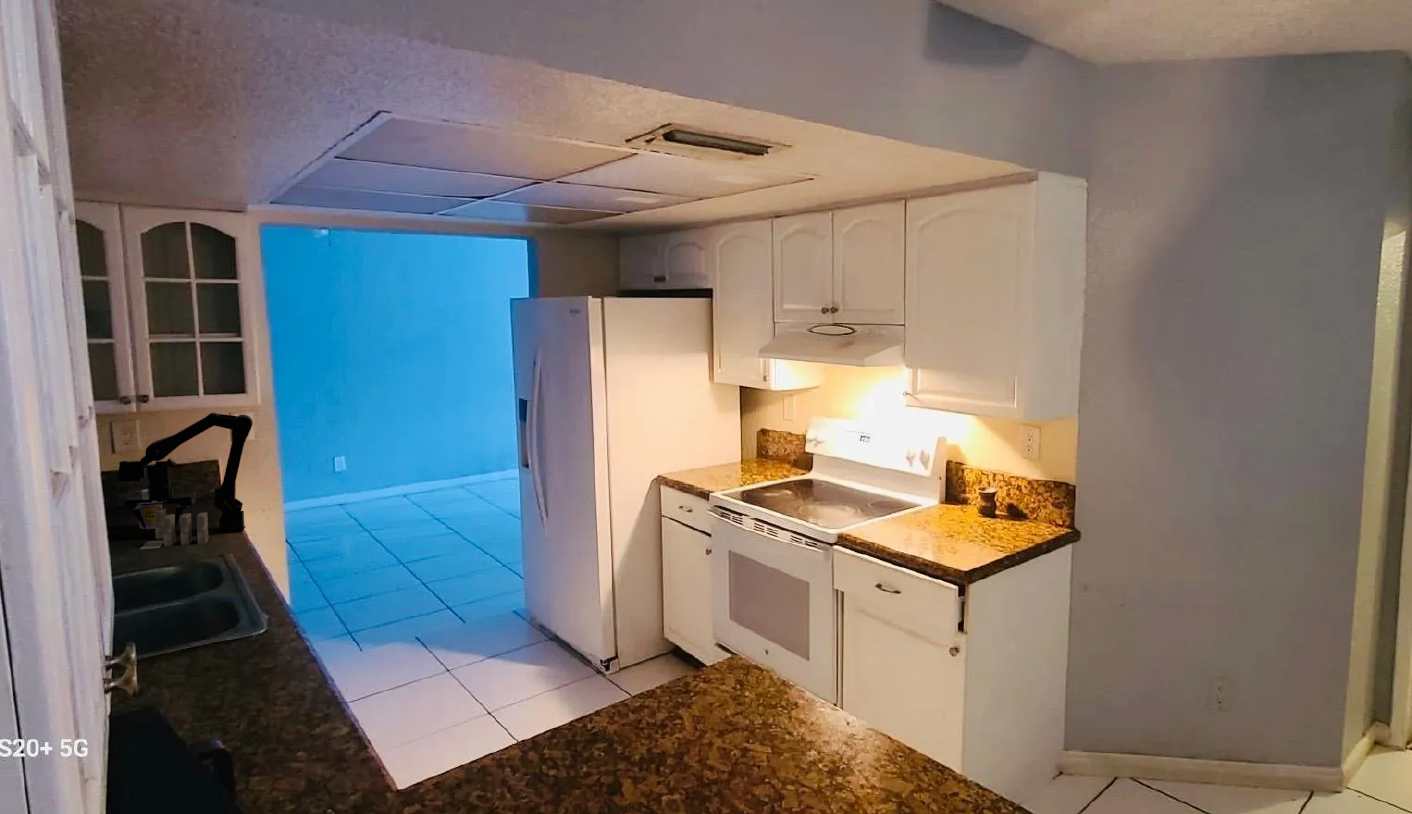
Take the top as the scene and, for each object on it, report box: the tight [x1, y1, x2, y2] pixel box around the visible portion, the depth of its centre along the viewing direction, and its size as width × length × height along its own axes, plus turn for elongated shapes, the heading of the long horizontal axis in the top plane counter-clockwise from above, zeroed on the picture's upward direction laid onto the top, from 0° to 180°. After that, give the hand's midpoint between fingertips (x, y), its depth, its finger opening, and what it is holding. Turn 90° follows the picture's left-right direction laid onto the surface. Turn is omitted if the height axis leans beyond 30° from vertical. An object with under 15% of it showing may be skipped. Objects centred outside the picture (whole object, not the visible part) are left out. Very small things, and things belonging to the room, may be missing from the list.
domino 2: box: [179, 512, 193, 546], centre depth 250 cm, size 2×5×9 cm, turn 22°
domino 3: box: [196, 512, 209, 545], centre depth 251 cm, size 2×5×9 cm, turn 22°
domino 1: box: [163, 513, 177, 547], centre depth 248 cm, size 2×5×9 cm, turn 22°
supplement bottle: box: [138, 488, 163, 530], centre depth 266 cm, size 7×7×13 cm
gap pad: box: [139, 540, 164, 550], centre depth 247 cm, size 5×8×1 cm, turn 22°
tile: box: [154, 507, 167, 540], centre depth 255 cm, size 2×5×9 cm, turn 22°
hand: (161, 527), depth 255 cm, fingers open, 8 cm apart
